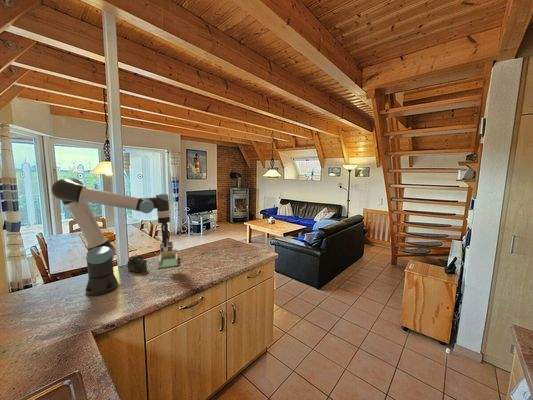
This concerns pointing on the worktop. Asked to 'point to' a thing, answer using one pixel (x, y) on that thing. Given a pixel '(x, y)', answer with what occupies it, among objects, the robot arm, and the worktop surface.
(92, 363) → the worktop surface
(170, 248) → the plug
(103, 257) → the robot arm
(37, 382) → the worktop surface
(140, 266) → the camera
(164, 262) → the header
